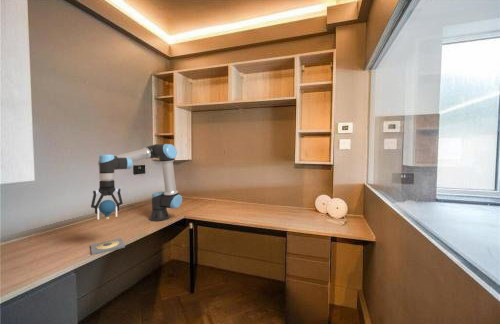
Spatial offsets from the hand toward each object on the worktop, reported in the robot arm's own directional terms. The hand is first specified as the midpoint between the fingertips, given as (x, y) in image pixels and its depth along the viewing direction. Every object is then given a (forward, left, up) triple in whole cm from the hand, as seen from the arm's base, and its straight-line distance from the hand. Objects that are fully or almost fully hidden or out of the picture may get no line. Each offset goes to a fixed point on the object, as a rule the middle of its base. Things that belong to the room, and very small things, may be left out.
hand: (107, 217), depth 128 cm
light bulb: (0, 0, -2) cm, 2 cm away
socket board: (0, 0, -18) cm, 18 cm away
